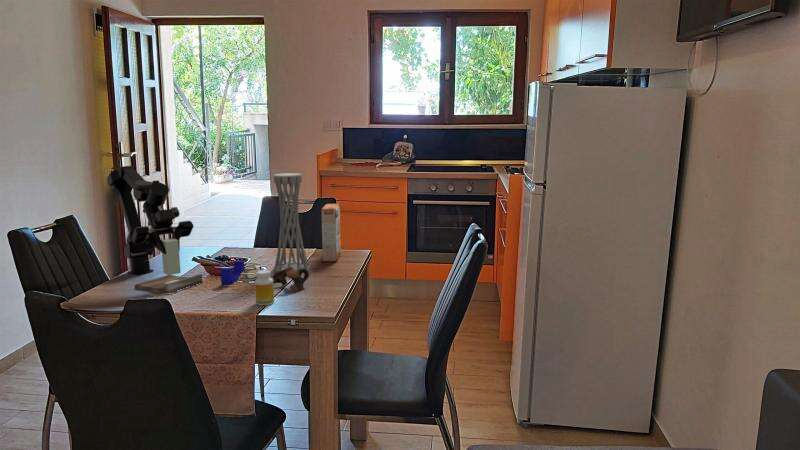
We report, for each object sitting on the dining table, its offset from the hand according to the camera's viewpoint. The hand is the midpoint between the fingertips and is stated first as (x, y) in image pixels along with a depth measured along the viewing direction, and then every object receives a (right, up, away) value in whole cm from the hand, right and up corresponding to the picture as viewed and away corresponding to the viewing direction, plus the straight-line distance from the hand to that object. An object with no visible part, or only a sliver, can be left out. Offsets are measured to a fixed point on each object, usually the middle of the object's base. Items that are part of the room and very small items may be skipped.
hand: (172, 252), depth 192 cm
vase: (+34, -8, +26) cm, 43 cm away
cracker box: (+47, -4, +43) cm, 64 cm away
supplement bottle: (+33, -15, -14) cm, 39 cm away
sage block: (-1, -7, +2) cm, 7 cm away
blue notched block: (+16, -11, +11) cm, 22 cm away
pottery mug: (+39, -12, +2) cm, 41 cm away
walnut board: (-3, -11, +6) cm, 13 cm away
